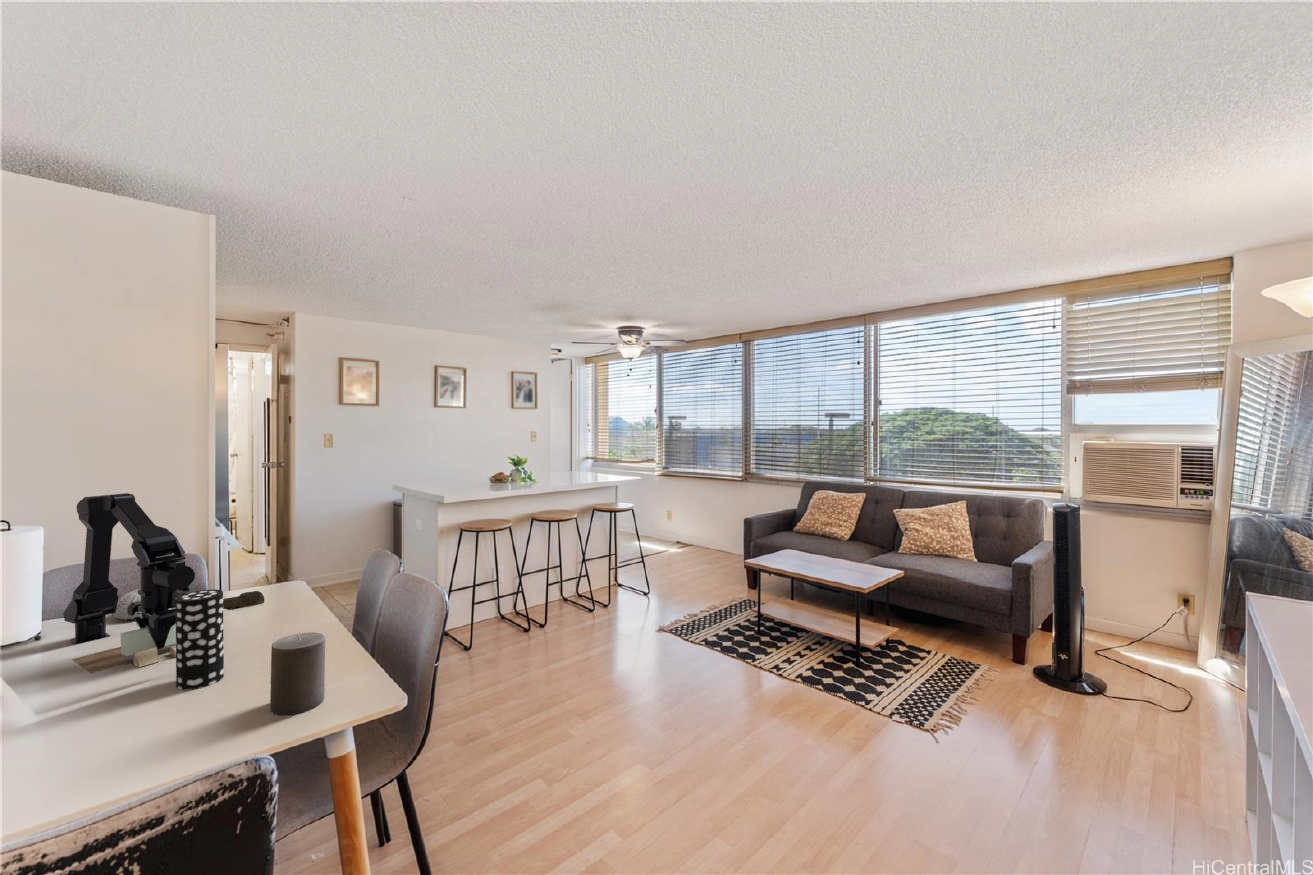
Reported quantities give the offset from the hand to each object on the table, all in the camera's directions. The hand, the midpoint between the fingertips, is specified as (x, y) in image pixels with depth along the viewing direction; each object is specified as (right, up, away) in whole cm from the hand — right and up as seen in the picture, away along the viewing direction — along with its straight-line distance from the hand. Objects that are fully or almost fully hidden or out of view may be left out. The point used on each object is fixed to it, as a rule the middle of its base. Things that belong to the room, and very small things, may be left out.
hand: (157, 646), depth 134 cm
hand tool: (-11, -2, +36) cm, 38 cm away
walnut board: (-5, -3, +3) cm, 6 cm away
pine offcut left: (+1, -2, -4) cm, 5 cm away
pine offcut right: (+5, -2, +1) cm, 5 cm away
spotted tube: (+20, -4, -11) cm, 23 cm away
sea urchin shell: (-32, -2, +29) cm, 44 cm away
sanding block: (0, -1, 0) cm, 1 cm away
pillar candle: (+48, -5, -19) cm, 52 cm away
